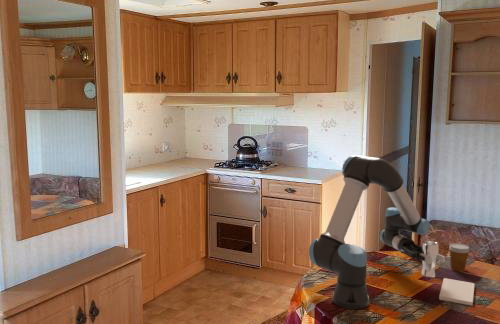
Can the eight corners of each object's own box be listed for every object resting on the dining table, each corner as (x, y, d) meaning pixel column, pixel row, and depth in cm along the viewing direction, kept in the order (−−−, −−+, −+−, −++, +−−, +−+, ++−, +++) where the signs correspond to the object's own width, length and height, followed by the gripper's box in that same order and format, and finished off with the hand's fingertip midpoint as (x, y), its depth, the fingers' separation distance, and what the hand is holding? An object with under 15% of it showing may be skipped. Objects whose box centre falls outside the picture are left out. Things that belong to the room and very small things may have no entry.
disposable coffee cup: (469, 268, 238) (471, 245, 236) (466, 274, 230) (468, 250, 228) (449, 264, 243) (450, 241, 241) (445, 270, 235) (447, 247, 233)
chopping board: (472, 305, 196) (472, 302, 196) (438, 299, 202) (439, 296, 202) (474, 286, 215) (474, 283, 215) (443, 281, 221) (443, 278, 221)
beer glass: (437, 278, 209) (440, 245, 207) (421, 277, 211) (423, 244, 208) (435, 272, 216) (437, 241, 214) (419, 271, 217) (421, 239, 215)
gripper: (419, 250, 233) (454, 266, 211) (386, 253, 226) (418, 271, 205) (420, 235, 232) (455, 250, 210) (387, 238, 225) (419, 254, 204)
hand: (437, 260), depth 207 cm, fingers closed on beer glass, 6 cm apart
